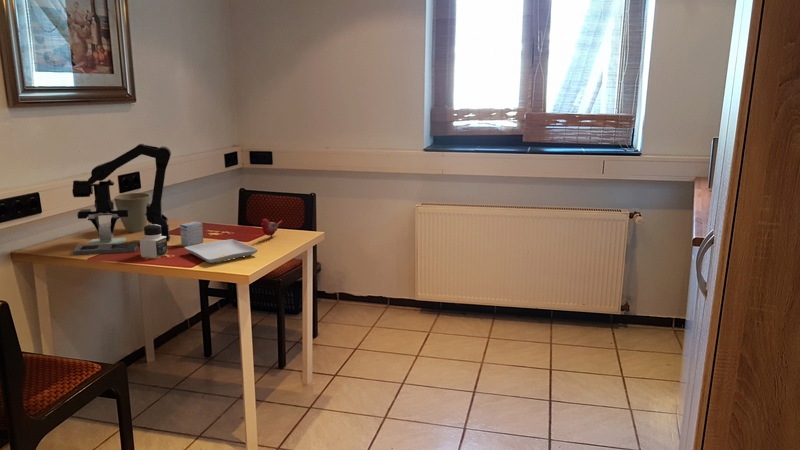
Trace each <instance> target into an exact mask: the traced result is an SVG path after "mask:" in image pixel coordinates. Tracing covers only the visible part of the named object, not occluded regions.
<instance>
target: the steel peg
mask: <svg viewBox="0 0 800 450" xmlns="http://www.w3.org/2000/svg"><path fill="white" fill-rule="evenodd" d="M99 225H100V226H99V227H98V228H99V233H98V237H99V238H98V239H100V241H112V239H113V238H115V237H114V232H113V233H112V232H111V223H106V224H104V223H103V224H99Z"/></svg>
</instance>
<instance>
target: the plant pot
mask: <svg viewBox="0 0 800 450" xmlns="http://www.w3.org/2000/svg"><path fill="white" fill-rule="evenodd" d="M113 200H114V204H115V207H116V210H118V209H119V208H129V209H130V215H129V216H128V217H120V218H119V219H120V221H121V223H122V225H123V227H124V229H125V231H126V232H127V233H140V232H144V227H145V226H147V222H148V220H147V215H146V216H145V214H146V212H147V210H146V206H147V204H151V193H146V192H129V193H121V194H117V195H114V196H113Z"/></svg>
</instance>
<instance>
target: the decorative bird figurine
mask: <svg viewBox="0 0 800 450" xmlns="http://www.w3.org/2000/svg"><path fill="white" fill-rule="evenodd" d="M282 222H283V220H280V221H279V222H277V223H276V222H274V221H269V219H267V218H263V219H261V223H260V225H261V228H262V231H263V233H264V235H266V236H269V237H268V238H267V239H266V240H268V241H269V240H271V239H272V238H273V235H274V234H275V233H276V232H277V231H278V228H279V226H280V225H281V223H282Z"/></svg>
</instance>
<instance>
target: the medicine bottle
mask: <svg viewBox="0 0 800 450" xmlns="http://www.w3.org/2000/svg"><path fill="white" fill-rule="evenodd" d="M143 232H144V237H142V238H140V239H139V246H140V247H139V248H140V249H139V250H140V258H148V259H149V258H150V259H159V258H161V257H163V256H165V254H166V255H167V253H169V252H168V251H169V250H168V241H167V237H166V236H161V226H160V225H156V224H152V223H150V224H146V226H145V227H144V231H143Z"/></svg>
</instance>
